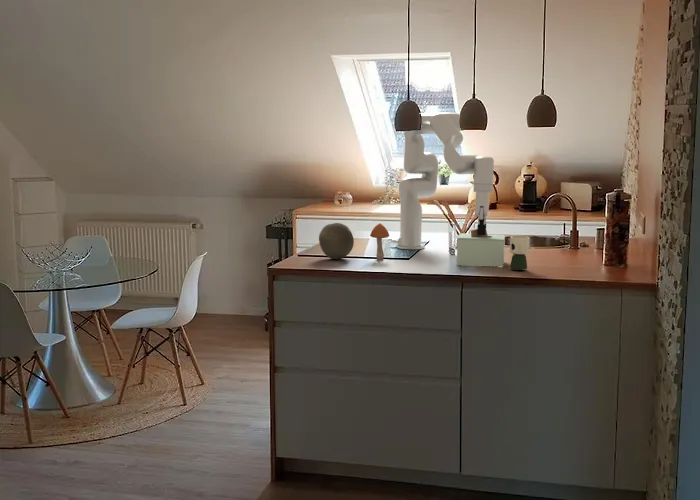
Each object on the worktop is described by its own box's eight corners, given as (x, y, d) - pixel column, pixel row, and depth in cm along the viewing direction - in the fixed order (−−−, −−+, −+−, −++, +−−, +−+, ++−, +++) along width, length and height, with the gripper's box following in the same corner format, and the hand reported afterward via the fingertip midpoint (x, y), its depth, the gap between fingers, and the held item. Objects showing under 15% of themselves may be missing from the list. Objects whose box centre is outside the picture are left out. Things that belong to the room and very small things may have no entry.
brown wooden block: (473, 244, 320) (470, 230, 319) (473, 243, 323) (470, 229, 322) (488, 241, 318) (485, 227, 318) (488, 239, 321) (485, 226, 321)
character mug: (506, 267, 314) (508, 234, 312) (525, 267, 314) (526, 234, 311) (511, 272, 303) (513, 238, 301) (530, 273, 303) (532, 238, 301)
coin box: (456, 265, 318) (457, 237, 316) (459, 259, 330) (460, 233, 328) (502, 267, 314) (504, 239, 312) (503, 261, 326) (505, 235, 325)
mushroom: (371, 261, 325) (372, 224, 323) (368, 258, 333) (368, 222, 331) (390, 260, 326) (391, 224, 324) (386, 257, 334) (387, 221, 332)
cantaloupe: (320, 256, 336) (320, 220, 333) (354, 257, 335) (354, 221, 333) (317, 262, 322) (317, 225, 319) (352, 263, 321) (352, 225, 319)
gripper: (474, 186, 326) (473, 231, 329) (472, 189, 310) (470, 236, 313) (493, 186, 324) (492, 231, 327) (491, 190, 309) (490, 237, 311)
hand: (481, 233), depth 320 cm, fingers closed on brown wooden block, 2 cm apart
